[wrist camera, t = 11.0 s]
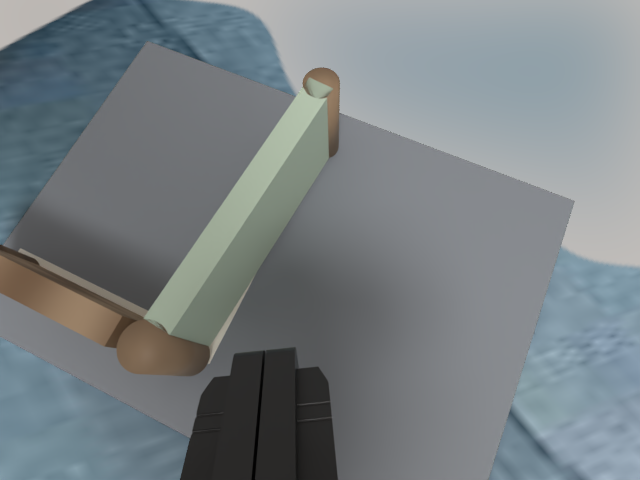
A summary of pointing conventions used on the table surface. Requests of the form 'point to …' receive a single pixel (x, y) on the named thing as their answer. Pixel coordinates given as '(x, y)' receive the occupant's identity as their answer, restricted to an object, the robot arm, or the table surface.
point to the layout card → (304, 267)
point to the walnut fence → (62, 299)
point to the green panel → (237, 238)
